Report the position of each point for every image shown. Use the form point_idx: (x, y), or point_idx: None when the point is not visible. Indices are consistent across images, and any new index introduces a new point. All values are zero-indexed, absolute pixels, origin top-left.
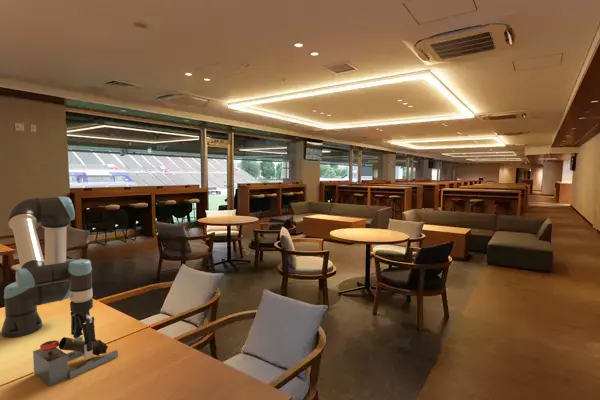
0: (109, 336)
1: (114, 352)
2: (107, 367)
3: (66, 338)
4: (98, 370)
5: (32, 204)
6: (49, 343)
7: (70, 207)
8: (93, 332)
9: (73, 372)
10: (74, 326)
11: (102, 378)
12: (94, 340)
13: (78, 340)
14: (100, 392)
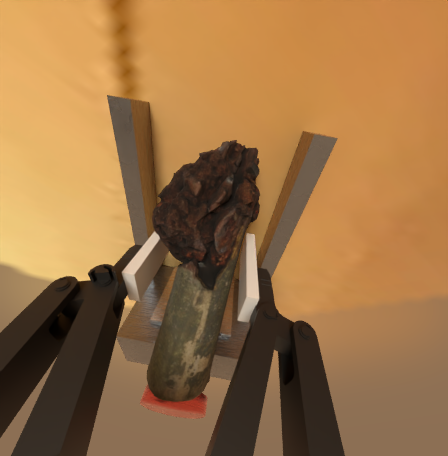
0: None
1: (326, 161)
2: (330, 216)
3: (181, 399)
4: (309, 238)
5: None
6: (164, 407)
7: None
8: (332, 431)
9: None
10: (36, 371)
11: (357, 261)
12: (313, 338)
13: (199, 334)
14: (393, 297)
